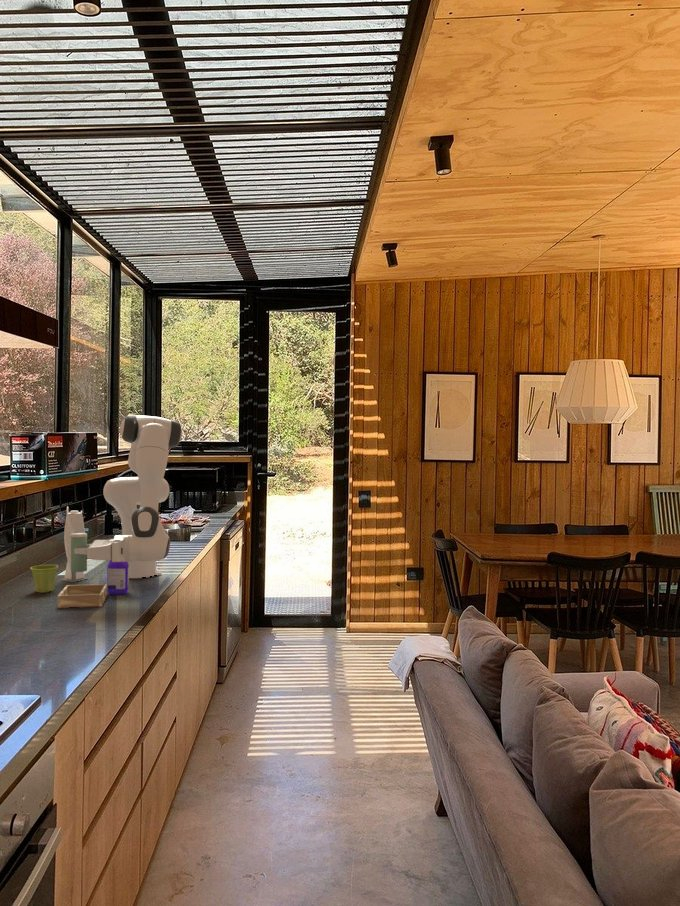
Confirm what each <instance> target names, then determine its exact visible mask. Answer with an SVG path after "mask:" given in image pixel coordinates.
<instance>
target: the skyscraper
mask: <svg viewBox="0 0 680 906" xmlns="http://www.w3.org/2000/svg"><path fill="white" fill-rule="evenodd" d="M63 530H64V533H63V534H64V535H63V536H64V539H63V541H64V542H63V543H64V549H65V555H66V559H67V561H66V566H65V567H66V568H65V573H64V577H63V579H60V581H61V582H66V581H72V582H71V583H76V582H75V581H79V580H83V581H85V580H84V579H89V578H87V577H85V571H84V572H71V537H70V534H73V533H86V531H85V530H86V529H85V522H84V517H83V510H80V511H79V510H70V511H69V506H66V517H65V521H64V529H63ZM79 582H80V581H79Z"/></svg>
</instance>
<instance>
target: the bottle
mask: <svg viewBox="0 0 680 906" xmlns="http://www.w3.org/2000/svg"><path fill="white" fill-rule="evenodd" d="M106 574H107V577H106V578H107V579H106V580H107V581H106V582H107V583H106V584H108V595H125V593H126V594H127V593H128V592H129V588H130V587H129V586H130V585H129V584H130V578H129V564H128V562H112V560H108V564H107V573H106Z"/></svg>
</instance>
